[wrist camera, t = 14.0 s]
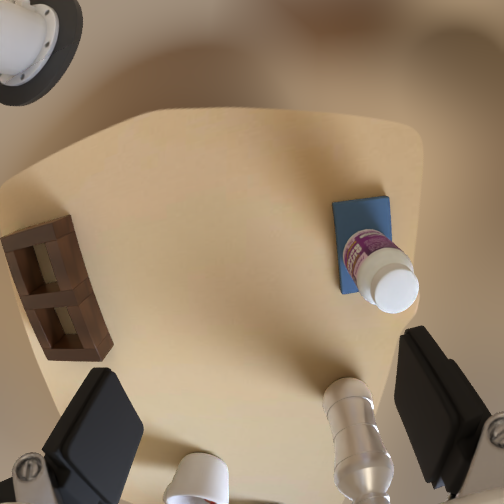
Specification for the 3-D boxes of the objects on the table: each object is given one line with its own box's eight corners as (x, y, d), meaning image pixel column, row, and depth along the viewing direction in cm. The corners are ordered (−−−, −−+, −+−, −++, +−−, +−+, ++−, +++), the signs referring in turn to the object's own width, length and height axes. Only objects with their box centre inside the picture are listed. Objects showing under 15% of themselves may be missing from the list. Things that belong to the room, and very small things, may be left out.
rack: (18, 229, 35) (0, 238, 32) (70, 214, 34) (51, 222, 31) (61, 345, 41) (47, 360, 37) (114, 344, 40) (102, 361, 36)
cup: (191, 484, 50) (182, 524, 41) (153, 458, 48) (139, 500, 38) (245, 467, 47) (241, 514, 37) (206, 439, 45) (195, 489, 35)
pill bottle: (338, 233, 32) (363, 266, 23) (386, 223, 32) (426, 253, 23) (344, 281, 34) (367, 327, 25) (390, 271, 33) (425, 313, 24)
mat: (331, 202, 32) (333, 204, 32) (386, 195, 32) (389, 196, 31) (340, 291, 35) (342, 294, 35) (390, 282, 35) (393, 285, 34)
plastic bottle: (345, 411, 41) (369, 530, 22) (310, 393, 40) (324, 523, 21) (377, 383, 40) (418, 503, 21) (343, 363, 39) (377, 496, 20)
